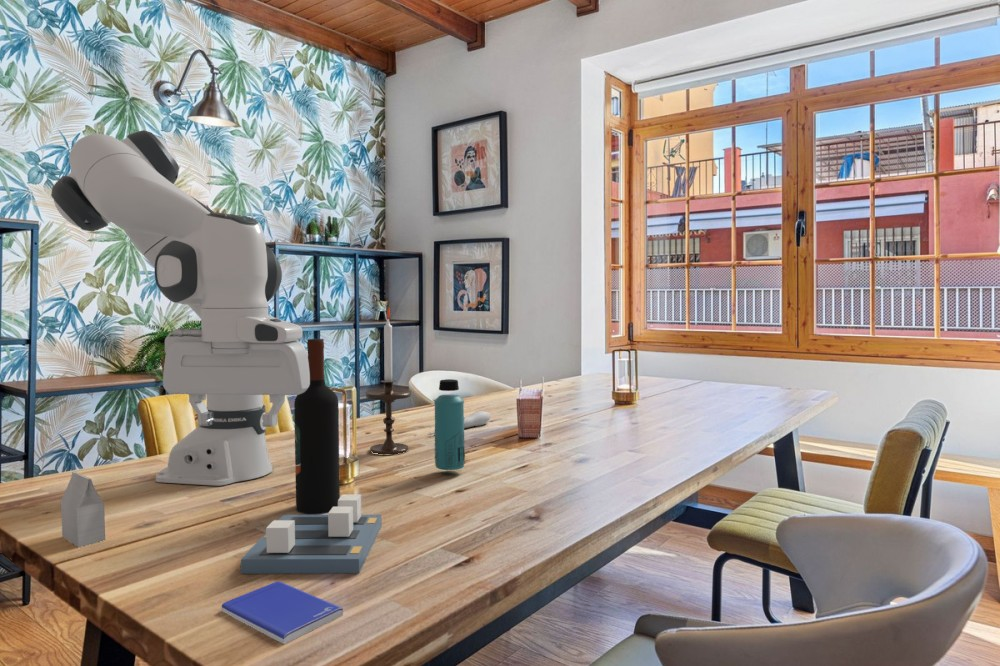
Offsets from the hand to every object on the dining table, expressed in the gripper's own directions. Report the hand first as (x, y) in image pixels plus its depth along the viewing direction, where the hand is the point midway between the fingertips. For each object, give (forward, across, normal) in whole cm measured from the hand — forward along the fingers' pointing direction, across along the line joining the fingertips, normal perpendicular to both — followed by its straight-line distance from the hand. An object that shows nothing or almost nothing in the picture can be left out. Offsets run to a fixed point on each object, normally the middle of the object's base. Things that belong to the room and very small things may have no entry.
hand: (237, 425), depth 93 cm
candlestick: (+19, +6, +65) cm, 68 cm away
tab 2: (+17, +13, +11) cm, 24 cm away
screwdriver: (+20, +20, +92) cm, 96 cm away
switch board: (+19, +10, +4) cm, 22 cm away
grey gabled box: (+19, -28, +5) cm, 34 cm away
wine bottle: (+19, +3, +23) cm, 30 cm away
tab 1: (+17, +7, -2) cm, 18 cm away
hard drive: (+20, +12, -15) cm, 28 cm away
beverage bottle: (+19, +23, +47) cm, 56 cm away
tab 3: (+17, +13, +5) cm, 22 cm away
